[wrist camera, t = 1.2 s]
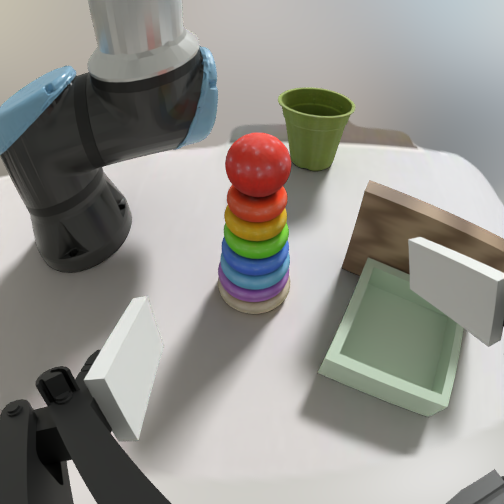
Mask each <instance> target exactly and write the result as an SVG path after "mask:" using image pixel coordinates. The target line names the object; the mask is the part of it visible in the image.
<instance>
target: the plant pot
mask: <svg viewBox="0 0 504 504" xmlns="http://www.w3.org/2000/svg"><path fill="white" fill-rule="evenodd" d="M278 102H279V104H280V105H281V106H282V109H283V115H284V117H285V121H286V127H287V134H288V142H289V149H290V156H291V160H292V162H293V163H294V164H295V165H297V166H298V167H300V168H307V169H309V170H312V171H318V170H324V169H327V168H328V167H330V166H331V164H332V162H333V160H334V157H335V154H336V151H337V148H338V145H339V142H340V139H341V136H342V133H343V130H344V127H345V125H346V124H347V122H348V119H349V117H350V115H351V114H352V113H353V112H354V111H355V104H354V103H353V102H352V101H351V100H350V99H349V98H347V97H346V96H344V95H342V94H340V93H337V92H334V91H330V90H326V89H321V88H295V89H291V90H287V91H285V92H283V93H282V94H280V96H279V97H278Z"/></svg>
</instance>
